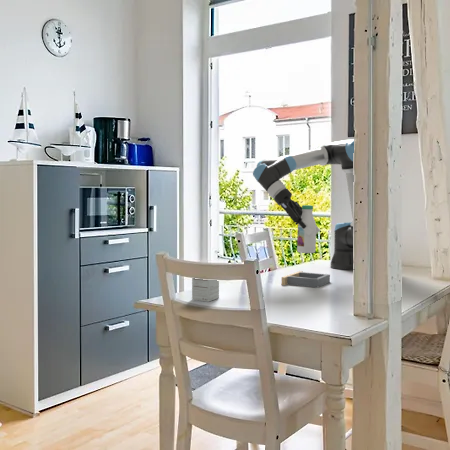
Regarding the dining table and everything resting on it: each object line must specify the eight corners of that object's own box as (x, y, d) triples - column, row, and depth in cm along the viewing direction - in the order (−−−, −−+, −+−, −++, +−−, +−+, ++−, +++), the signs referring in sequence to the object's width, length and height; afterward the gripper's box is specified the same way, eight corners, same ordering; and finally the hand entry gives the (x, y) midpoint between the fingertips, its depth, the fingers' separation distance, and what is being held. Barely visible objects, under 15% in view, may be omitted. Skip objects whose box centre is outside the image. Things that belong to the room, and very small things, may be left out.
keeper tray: (299, 278, 250) (299, 270, 250) (331, 281, 243) (331, 273, 242) (281, 284, 233) (281, 277, 232) (315, 288, 225) (315, 280, 225)
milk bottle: (314, 251, 240) (316, 205, 239) (315, 253, 232) (317, 205, 231) (296, 251, 241) (298, 204, 239) (297, 253, 233) (298, 205, 232)
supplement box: (202, 296, 207) (202, 262, 206) (219, 298, 203) (219, 264, 202) (191, 299, 200) (191, 264, 200) (208, 302, 197) (208, 266, 196)
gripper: (283, 199, 251) (316, 237, 244) (264, 199, 234) (299, 240, 227) (294, 187, 248) (328, 225, 242) (276, 187, 231) (312, 228, 224)
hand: (314, 232), depth 234 cm, fingers closed on milk bottle, 7 cm apart
